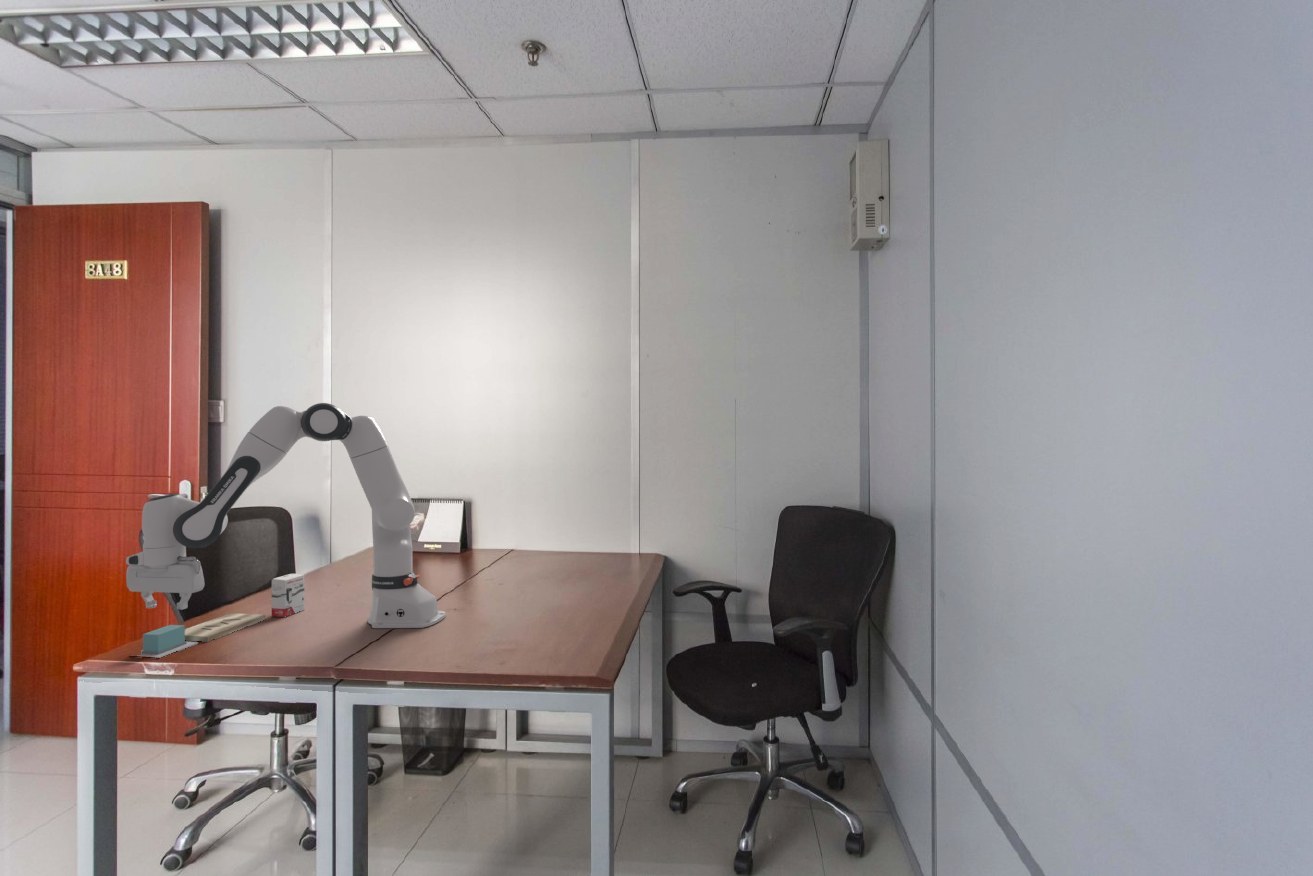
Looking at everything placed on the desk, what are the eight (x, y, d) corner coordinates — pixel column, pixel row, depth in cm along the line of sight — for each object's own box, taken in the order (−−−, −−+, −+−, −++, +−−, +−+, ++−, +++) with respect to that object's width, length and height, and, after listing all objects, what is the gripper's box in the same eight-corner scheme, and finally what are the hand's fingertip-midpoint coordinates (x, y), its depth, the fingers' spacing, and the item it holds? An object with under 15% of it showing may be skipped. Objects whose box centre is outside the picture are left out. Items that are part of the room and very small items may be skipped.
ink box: (284, 618, 188) (284, 580, 188) (270, 617, 189) (270, 579, 189) (305, 610, 196) (305, 573, 196) (292, 609, 197) (292, 573, 197)
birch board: (265, 619, 186) (265, 614, 186) (207, 642, 166) (207, 636, 166) (230, 617, 188) (230, 612, 188) (169, 639, 168) (169, 634, 168)
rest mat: (198, 643, 165) (198, 642, 165) (159, 658, 154) (159, 657, 154) (169, 641, 166) (169, 640, 166) (128, 656, 156) (128, 655, 156)
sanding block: (186, 643, 164) (186, 625, 164) (158, 654, 156) (158, 635, 156) (169, 643, 164) (169, 624, 164) (141, 653, 156) (141, 634, 156)
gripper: (210, 554, 162) (211, 605, 162) (143, 553, 165) (145, 603, 165) (188, 559, 155) (190, 613, 156) (120, 558, 158) (122, 610, 159)
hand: (166, 608), depth 160 cm, fingers open, 8 cm apart
